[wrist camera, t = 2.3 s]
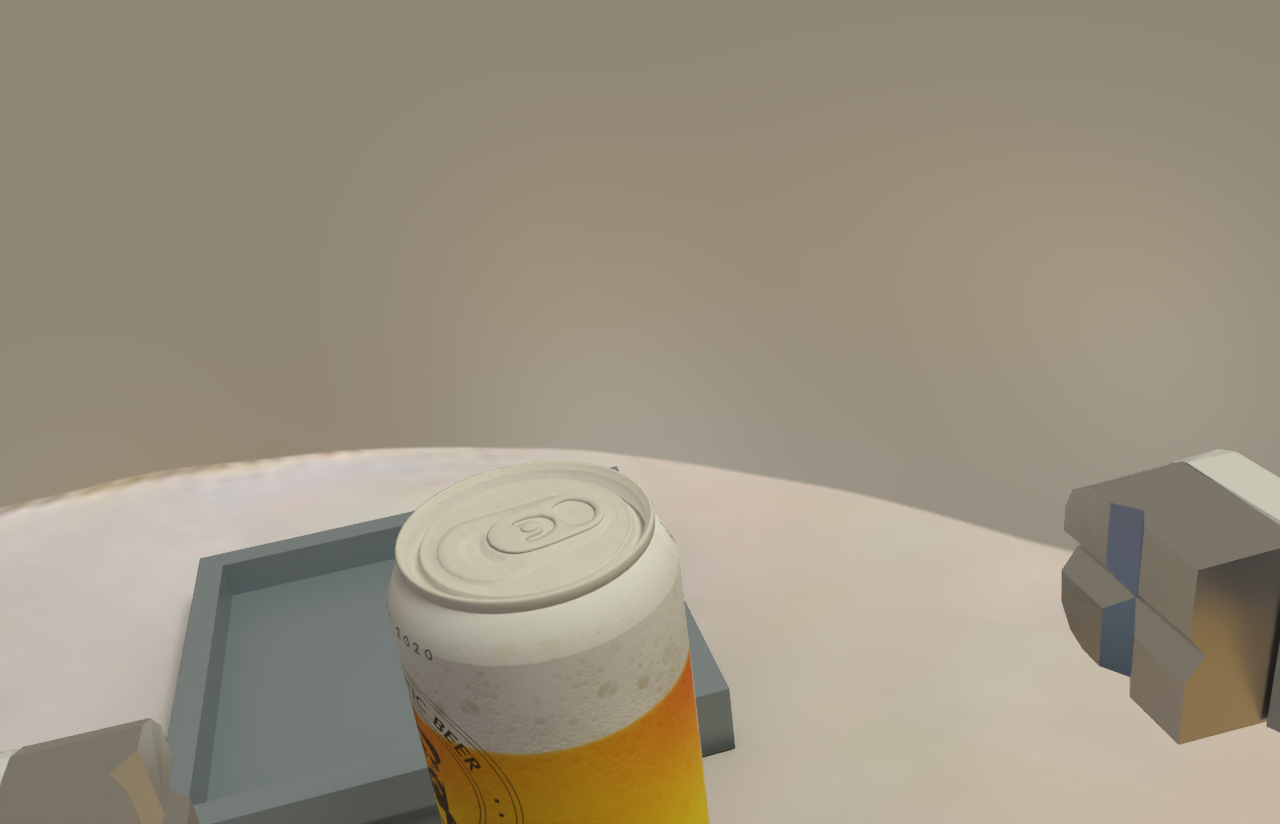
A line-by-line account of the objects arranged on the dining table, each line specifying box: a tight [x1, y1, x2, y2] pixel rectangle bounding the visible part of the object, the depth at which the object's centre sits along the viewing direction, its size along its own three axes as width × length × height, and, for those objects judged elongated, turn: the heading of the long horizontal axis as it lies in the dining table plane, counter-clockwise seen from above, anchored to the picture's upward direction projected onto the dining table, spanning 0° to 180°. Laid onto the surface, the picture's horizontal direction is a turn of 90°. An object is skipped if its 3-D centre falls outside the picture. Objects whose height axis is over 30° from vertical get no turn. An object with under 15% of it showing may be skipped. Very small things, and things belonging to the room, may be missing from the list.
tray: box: [167, 466, 735, 824], centre depth 43 cm, size 18×16×2 cm
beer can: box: [386, 461, 710, 824], centre depth 27 cm, size 6×6×15 cm
